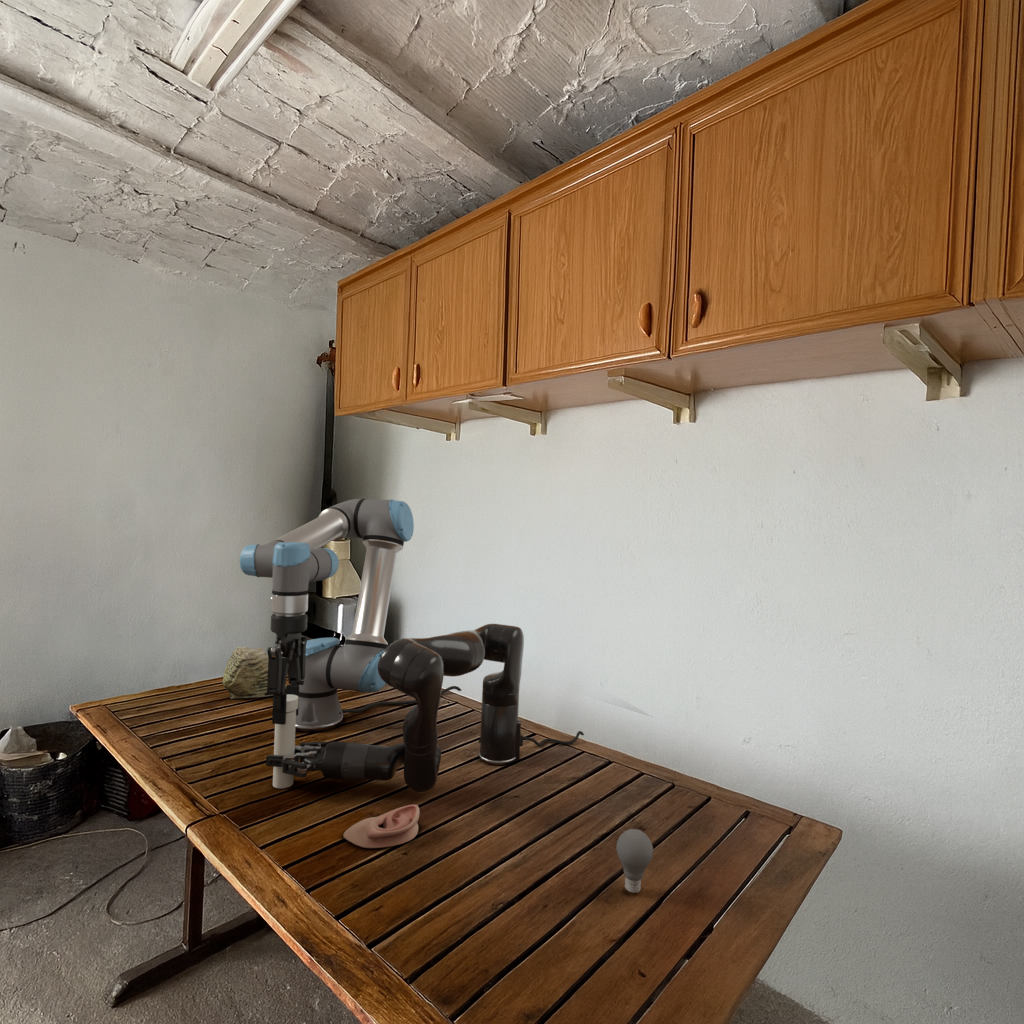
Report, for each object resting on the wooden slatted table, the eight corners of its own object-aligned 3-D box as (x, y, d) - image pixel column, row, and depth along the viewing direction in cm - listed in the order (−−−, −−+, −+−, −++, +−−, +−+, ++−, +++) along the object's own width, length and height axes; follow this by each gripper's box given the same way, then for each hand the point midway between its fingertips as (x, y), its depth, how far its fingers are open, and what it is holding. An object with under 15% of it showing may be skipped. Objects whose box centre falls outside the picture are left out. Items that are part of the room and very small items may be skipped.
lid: (302, 706, 140) (302, 695, 140) (289, 713, 135) (290, 702, 135) (282, 703, 141) (282, 693, 141) (268, 710, 137) (269, 700, 136)
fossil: (218, 695, 195) (220, 647, 195) (278, 685, 208) (279, 640, 207) (228, 703, 189) (230, 653, 188) (289, 692, 201) (290, 645, 201)
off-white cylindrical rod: (287, 789, 136) (290, 704, 136) (269, 787, 137) (272, 702, 137) (296, 780, 141) (299, 698, 140) (278, 779, 141) (281, 696, 141)
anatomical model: (336, 822, 116) (363, 794, 127) (335, 843, 116) (362, 813, 127) (404, 832, 113) (426, 803, 124) (403, 854, 113) (425, 823, 124)
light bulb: (610, 879, 108) (613, 822, 108) (644, 879, 109) (647, 822, 109) (619, 902, 102) (622, 840, 102) (655, 901, 103) (658, 840, 103)
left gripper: (293, 605, 148) (289, 704, 148) (250, 619, 130) (246, 732, 130) (323, 607, 147) (319, 707, 147) (285, 622, 129) (280, 735, 129)
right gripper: (358, 731, 145) (285, 727, 146) (338, 756, 131) (257, 751, 132) (357, 764, 145) (284, 759, 146) (337, 792, 131) (256, 787, 132)
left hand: (285, 718), depth 139 cm, fingers closed on lid, 5 cm apart
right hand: (271, 755), depth 139 cm, fingers closed on off-white cylindrical rod, 4 cm apart
